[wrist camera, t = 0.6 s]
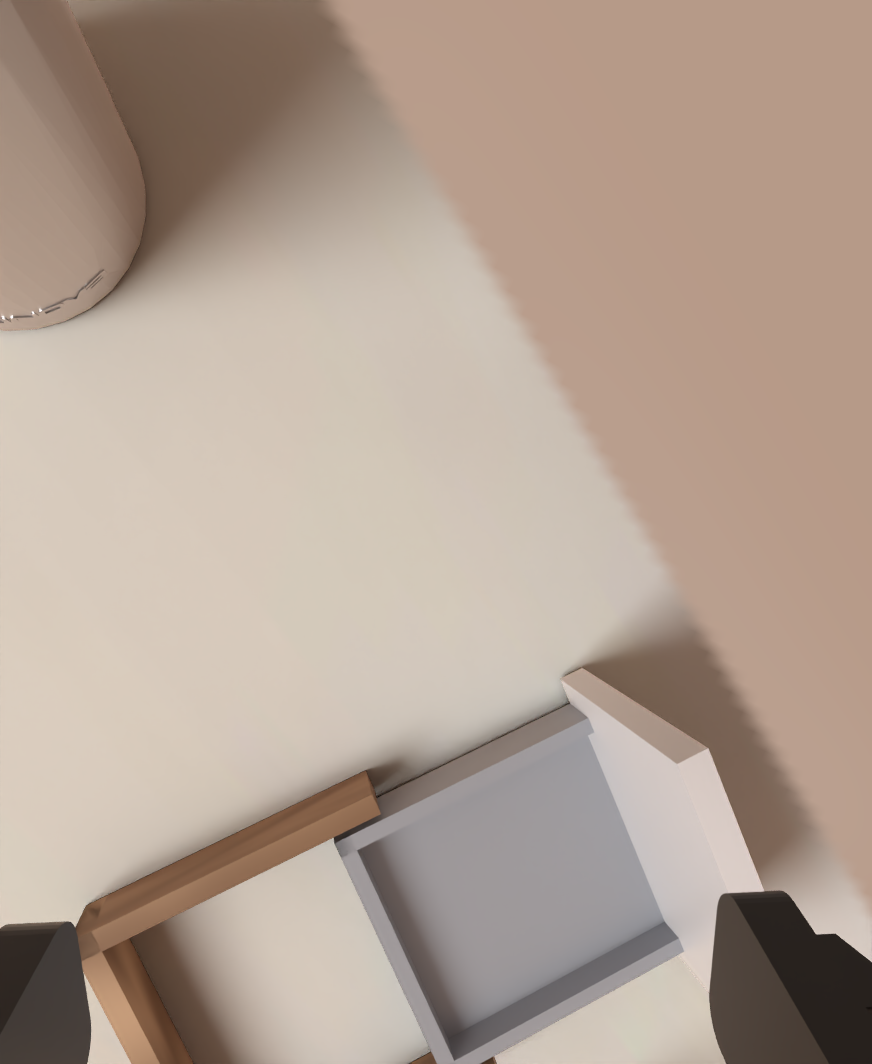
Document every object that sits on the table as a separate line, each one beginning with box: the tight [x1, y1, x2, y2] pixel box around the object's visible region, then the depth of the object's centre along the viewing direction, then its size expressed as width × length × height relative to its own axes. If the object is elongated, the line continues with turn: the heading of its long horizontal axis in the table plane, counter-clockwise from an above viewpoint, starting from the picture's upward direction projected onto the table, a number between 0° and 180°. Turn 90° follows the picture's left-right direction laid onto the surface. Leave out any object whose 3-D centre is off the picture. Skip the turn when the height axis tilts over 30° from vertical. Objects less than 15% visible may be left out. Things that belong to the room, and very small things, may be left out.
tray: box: [334, 668, 764, 1064], centre depth 27 cm, size 12×11×10 cm
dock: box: [75, 771, 497, 1064], centre depth 30 cm, size 12×11×2 cm
